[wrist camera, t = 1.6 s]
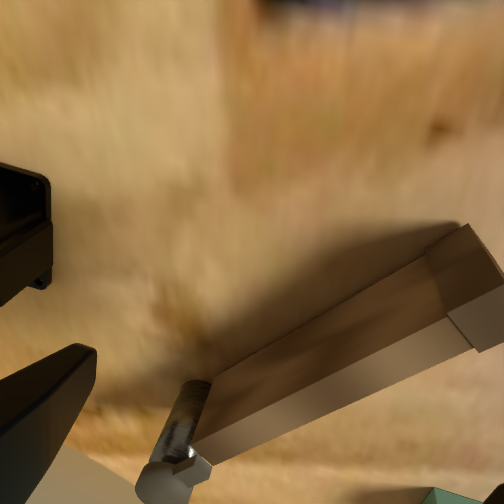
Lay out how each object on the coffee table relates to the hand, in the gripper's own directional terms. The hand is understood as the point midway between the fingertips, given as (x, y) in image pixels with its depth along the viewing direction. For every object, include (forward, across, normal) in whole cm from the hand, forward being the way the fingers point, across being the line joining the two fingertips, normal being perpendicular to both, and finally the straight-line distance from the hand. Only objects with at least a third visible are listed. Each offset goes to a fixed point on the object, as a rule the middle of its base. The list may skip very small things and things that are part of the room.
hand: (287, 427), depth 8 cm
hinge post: (+12, +3, +14) cm, 19 cm away
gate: (+12, -1, +7) cm, 14 cm away
